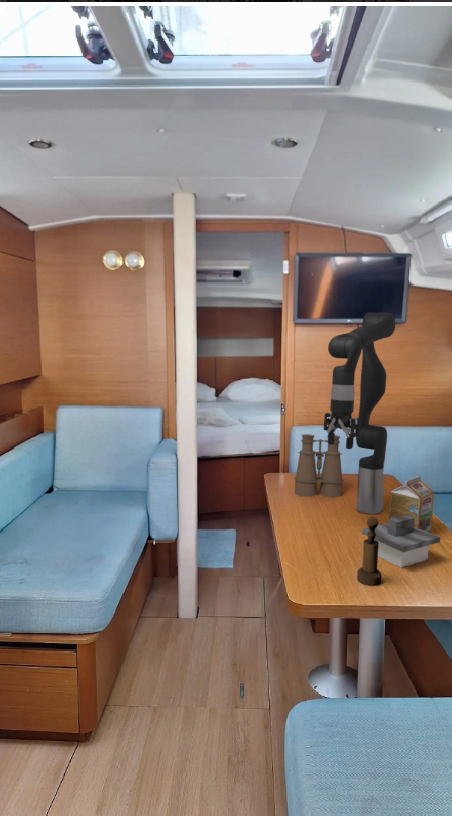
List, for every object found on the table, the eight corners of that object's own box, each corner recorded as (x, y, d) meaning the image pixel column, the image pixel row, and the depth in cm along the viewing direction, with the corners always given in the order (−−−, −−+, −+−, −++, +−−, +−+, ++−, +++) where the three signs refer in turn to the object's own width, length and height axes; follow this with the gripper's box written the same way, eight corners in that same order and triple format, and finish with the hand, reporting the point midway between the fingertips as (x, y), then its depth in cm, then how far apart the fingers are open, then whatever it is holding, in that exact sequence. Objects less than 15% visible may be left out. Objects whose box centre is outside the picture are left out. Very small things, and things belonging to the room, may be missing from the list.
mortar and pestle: (353, 575, 149) (357, 513, 147) (376, 574, 150) (380, 513, 147) (361, 586, 143) (365, 521, 140) (385, 585, 143) (389, 521, 141)
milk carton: (402, 524, 191) (406, 472, 188) (431, 532, 183) (435, 478, 181) (387, 531, 184) (391, 477, 181) (416, 540, 176) (421, 484, 174)
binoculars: (340, 490, 230) (343, 434, 227) (344, 497, 220) (347, 438, 217) (292, 489, 231) (294, 432, 227) (294, 496, 221) (297, 437, 218)
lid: (397, 525, 172) (399, 507, 171) (439, 542, 159) (441, 522, 158) (362, 533, 164) (363, 514, 163) (403, 552, 151) (404, 531, 150)
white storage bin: (397, 546, 170) (398, 528, 169) (427, 559, 160) (429, 540, 159) (371, 553, 164) (372, 534, 163) (401, 567, 154) (402, 548, 154)
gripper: (366, 400, 170) (363, 449, 172) (336, 395, 182) (333, 441, 184) (349, 401, 166) (346, 451, 168) (319, 396, 178) (317, 443, 181)
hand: (339, 446), depth 176 cm, fingers open, 8 cm apart
